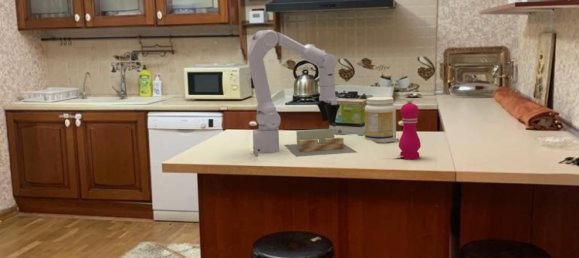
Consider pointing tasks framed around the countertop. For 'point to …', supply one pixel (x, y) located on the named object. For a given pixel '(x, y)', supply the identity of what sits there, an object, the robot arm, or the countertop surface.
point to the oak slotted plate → (314, 146)
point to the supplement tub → (380, 120)
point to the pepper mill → (409, 132)
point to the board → (297, 153)
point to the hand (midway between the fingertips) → (328, 121)
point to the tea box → (350, 117)
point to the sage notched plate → (315, 135)
